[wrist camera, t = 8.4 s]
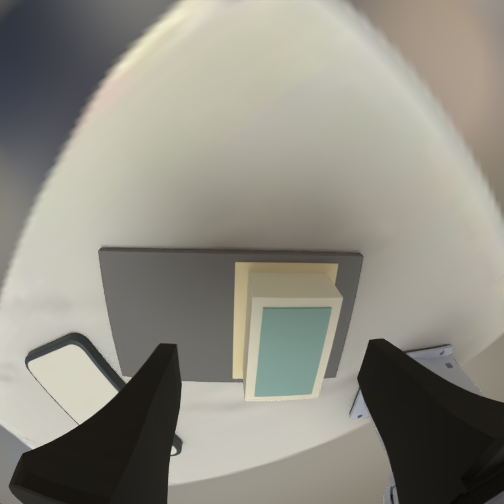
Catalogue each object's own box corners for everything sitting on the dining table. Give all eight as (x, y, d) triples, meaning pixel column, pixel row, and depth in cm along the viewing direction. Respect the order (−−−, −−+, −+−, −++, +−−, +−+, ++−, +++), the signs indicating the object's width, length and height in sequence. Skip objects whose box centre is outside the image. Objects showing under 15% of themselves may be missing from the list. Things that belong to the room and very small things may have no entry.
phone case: (26, 351, 22) (124, 453, 27) (18, 360, 20) (121, 464, 25) (84, 323, 21) (188, 442, 26) (77, 335, 19) (187, 454, 25)
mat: (360, 253, 20) (364, 256, 19) (333, 372, 23) (335, 378, 23) (101, 247, 18) (97, 251, 18) (124, 371, 22) (122, 376, 21)
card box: (308, 368, 22) (318, 399, 19) (242, 370, 22) (244, 402, 18) (326, 273, 19) (343, 298, 16) (248, 272, 19) (252, 298, 16)
